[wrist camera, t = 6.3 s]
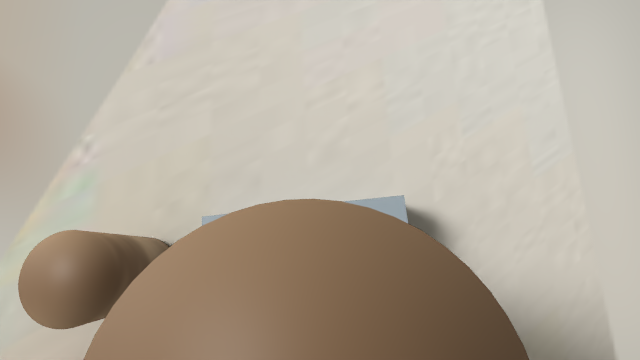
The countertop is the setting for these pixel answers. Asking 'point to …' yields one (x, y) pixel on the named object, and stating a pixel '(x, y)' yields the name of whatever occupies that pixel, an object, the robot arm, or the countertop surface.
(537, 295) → the countertop surface
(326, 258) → the walnut peg long
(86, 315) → the walnut peg short
